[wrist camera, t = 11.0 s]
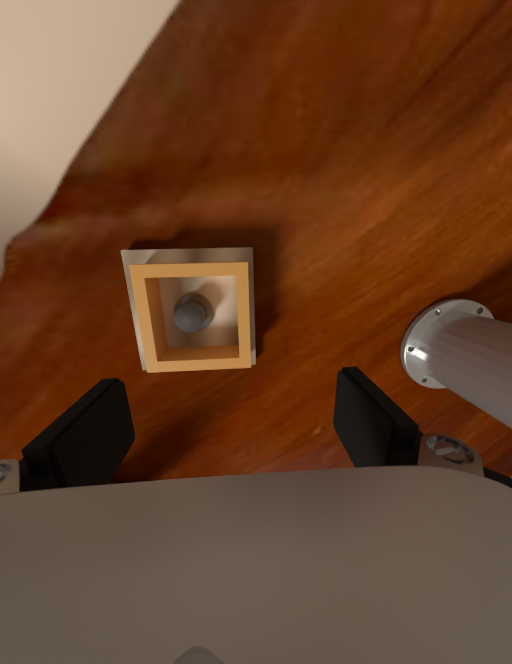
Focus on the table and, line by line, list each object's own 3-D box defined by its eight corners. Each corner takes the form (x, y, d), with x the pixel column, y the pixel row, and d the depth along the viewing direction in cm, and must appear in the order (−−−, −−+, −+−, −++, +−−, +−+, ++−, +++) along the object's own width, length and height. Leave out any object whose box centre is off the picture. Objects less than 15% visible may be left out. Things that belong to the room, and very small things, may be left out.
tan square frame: (246, 261, 27) (247, 262, 23) (249, 353, 30) (251, 367, 26) (144, 263, 26) (128, 265, 22) (159, 357, 29) (147, 372, 25)
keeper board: (252, 247, 28) (254, 246, 23) (255, 359, 32) (257, 375, 28) (126, 250, 27) (105, 249, 23) (146, 364, 31) (132, 382, 27)
